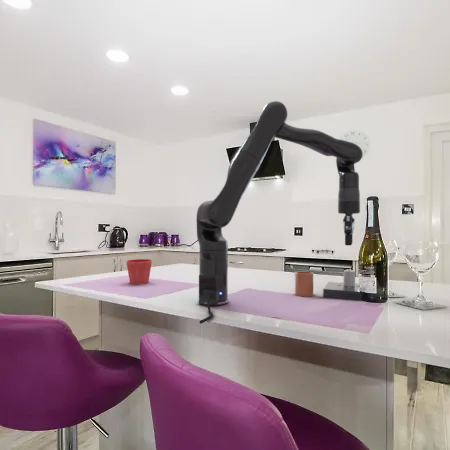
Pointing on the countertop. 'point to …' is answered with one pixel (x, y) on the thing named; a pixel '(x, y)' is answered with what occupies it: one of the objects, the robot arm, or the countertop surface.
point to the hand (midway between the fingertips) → (348, 244)
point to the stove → (341, 291)
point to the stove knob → (349, 278)
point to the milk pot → (304, 283)
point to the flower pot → (139, 270)
